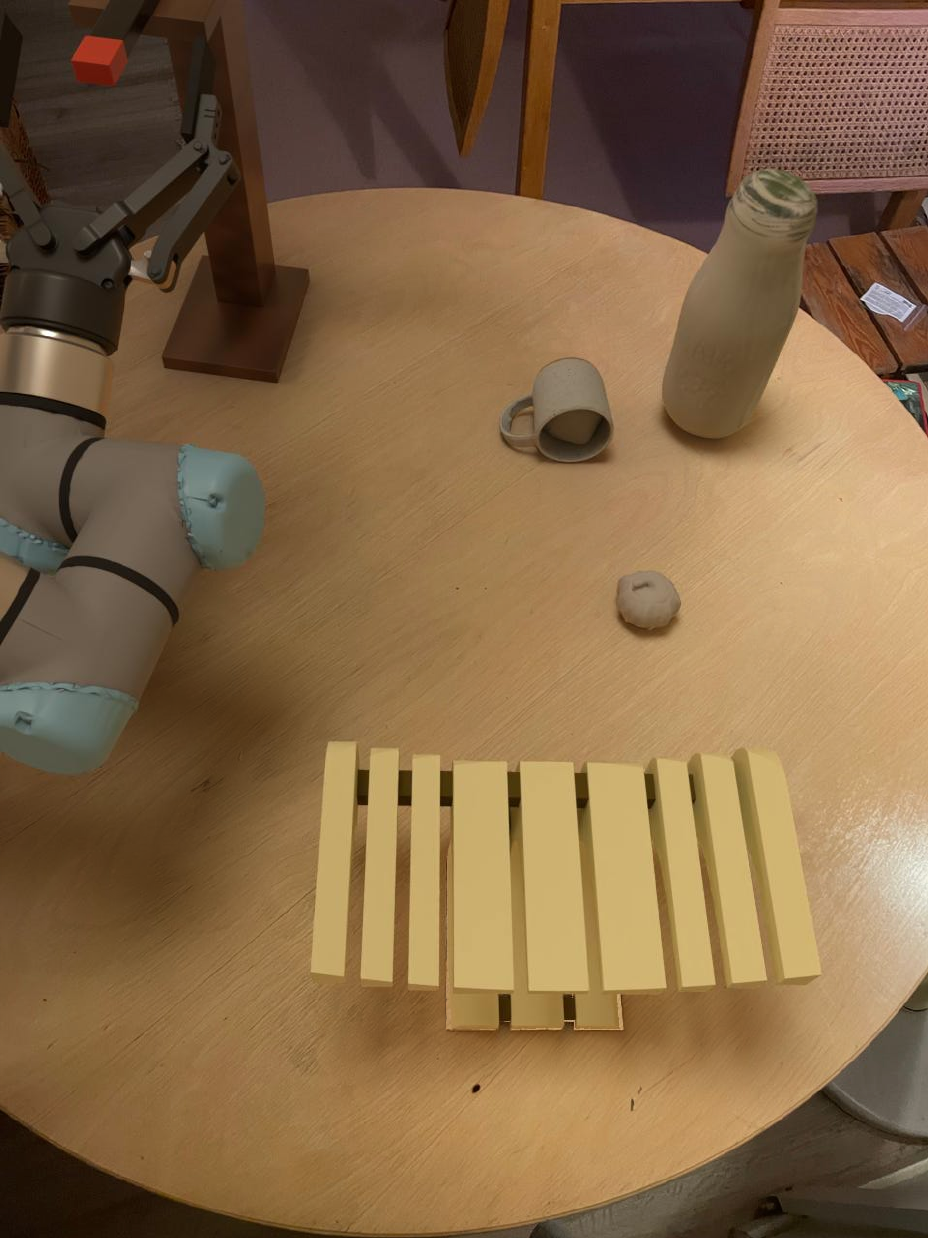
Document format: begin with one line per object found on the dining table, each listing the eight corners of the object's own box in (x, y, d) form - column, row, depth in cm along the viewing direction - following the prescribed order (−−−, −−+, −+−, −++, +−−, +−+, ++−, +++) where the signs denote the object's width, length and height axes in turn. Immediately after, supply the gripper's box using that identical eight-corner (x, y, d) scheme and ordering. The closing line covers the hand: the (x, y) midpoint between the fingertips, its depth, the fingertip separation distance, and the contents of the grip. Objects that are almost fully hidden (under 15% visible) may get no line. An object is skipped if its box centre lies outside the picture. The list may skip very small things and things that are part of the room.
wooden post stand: (158, 381, 107) (53, 2, 75) (204, 266, 116) (129, -116, 84) (273, 397, 107) (217, 23, 74) (309, 280, 116) (275, -97, 84)
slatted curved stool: (709, 824, 85) (776, 729, 70) (738, 1031, 76) (821, 974, 61) (340, 819, 83) (327, 722, 68) (328, 1030, 75) (310, 972, 60)
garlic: (601, 624, 94) (611, 593, 90) (619, 579, 97) (630, 547, 92) (664, 648, 93) (678, 617, 89) (681, 601, 96) (694, 570, 92)
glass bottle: (761, 408, 109) (863, 172, 86) (723, 471, 105) (819, 239, 81) (677, 370, 112) (753, 129, 88) (635, 429, 107) (703, 192, 83)
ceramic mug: (596, 402, 108) (607, 347, 102) (607, 462, 104) (619, 409, 98) (495, 404, 108) (500, 349, 101) (502, 465, 104) (508, 412, 97)
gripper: (-92, 336, 74) (-45, 45, 74) (253, 384, 73) (298, 90, 73) (-158, 300, 66) (-105, -24, 67) (226, 353, 65) (277, 26, 66)
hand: (107, 35), depth 70 cm, fingers open, 13 cm apart
